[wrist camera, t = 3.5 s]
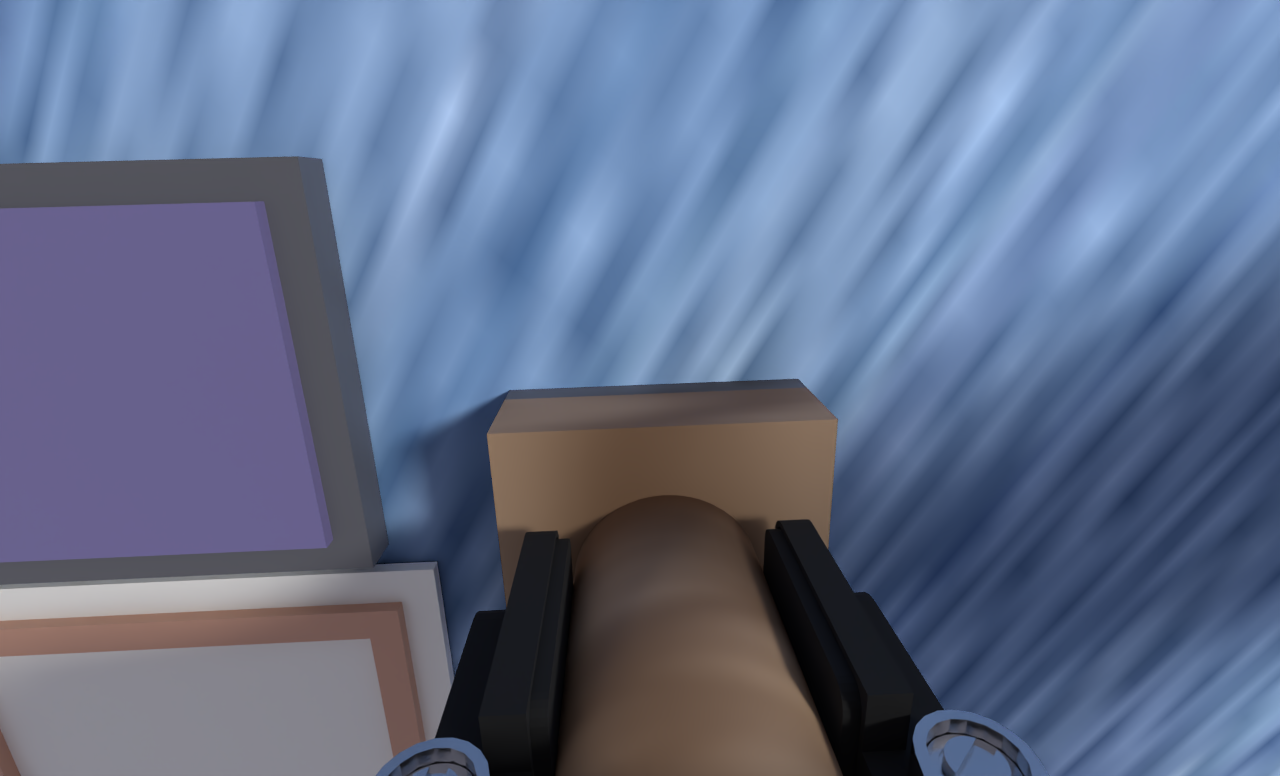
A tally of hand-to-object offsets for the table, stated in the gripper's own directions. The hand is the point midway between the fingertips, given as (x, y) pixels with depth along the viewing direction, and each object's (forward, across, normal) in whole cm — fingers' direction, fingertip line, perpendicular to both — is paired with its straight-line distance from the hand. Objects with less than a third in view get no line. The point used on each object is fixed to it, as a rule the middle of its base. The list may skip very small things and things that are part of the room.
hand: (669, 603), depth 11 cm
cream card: (+3, +11, +7) cm, 13 cm away
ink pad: (+3, +12, -4) cm, 13 cm away
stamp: (+3, 0, 0) cm, 3 cm away
